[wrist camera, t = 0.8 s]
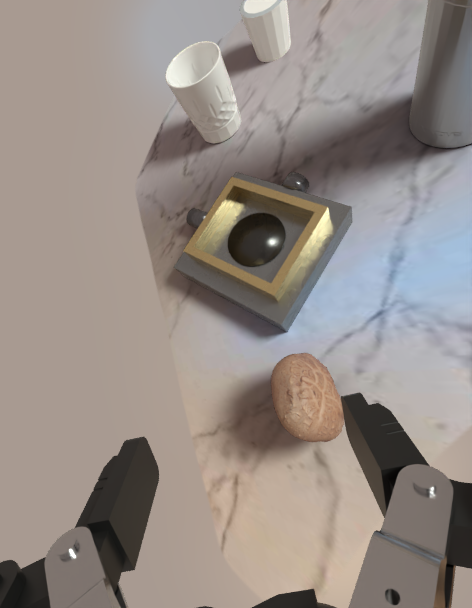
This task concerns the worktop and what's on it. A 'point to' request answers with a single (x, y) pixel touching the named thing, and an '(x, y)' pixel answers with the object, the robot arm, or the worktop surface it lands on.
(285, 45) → the shot glass
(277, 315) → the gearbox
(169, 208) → the worktop surface
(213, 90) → the white cup
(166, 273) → the worktop surface
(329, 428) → the mushroom
